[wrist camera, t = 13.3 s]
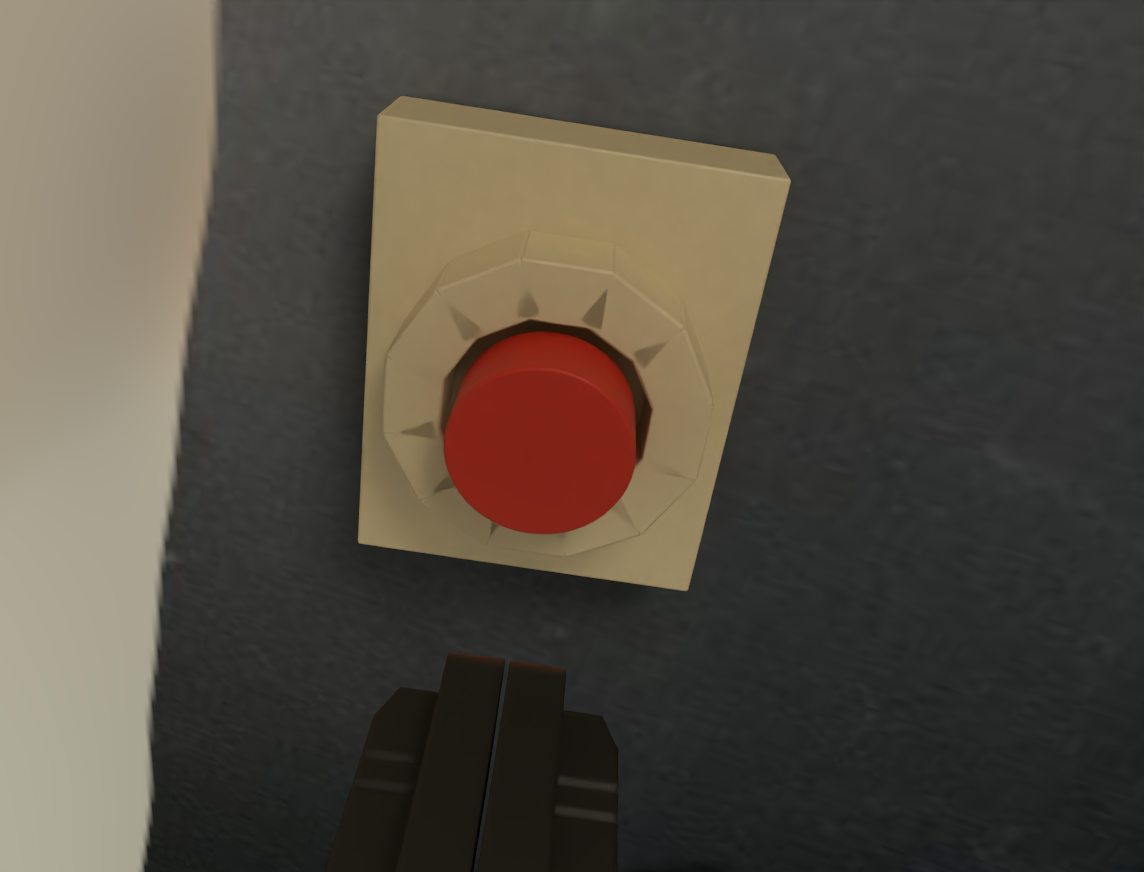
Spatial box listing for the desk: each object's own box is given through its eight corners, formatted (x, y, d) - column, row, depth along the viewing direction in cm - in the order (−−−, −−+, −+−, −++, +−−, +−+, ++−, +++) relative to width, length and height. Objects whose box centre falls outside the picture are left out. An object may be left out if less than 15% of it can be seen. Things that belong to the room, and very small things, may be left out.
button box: (400, 94, 20) (352, 133, 17) (776, 154, 21) (807, 204, 17) (378, 495, 25) (337, 590, 22) (683, 540, 25) (692, 641, 22)
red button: (465, 316, 19) (450, 353, 17) (650, 344, 19) (652, 383, 17) (450, 475, 20) (435, 521, 19) (619, 500, 20) (618, 548, 19)
